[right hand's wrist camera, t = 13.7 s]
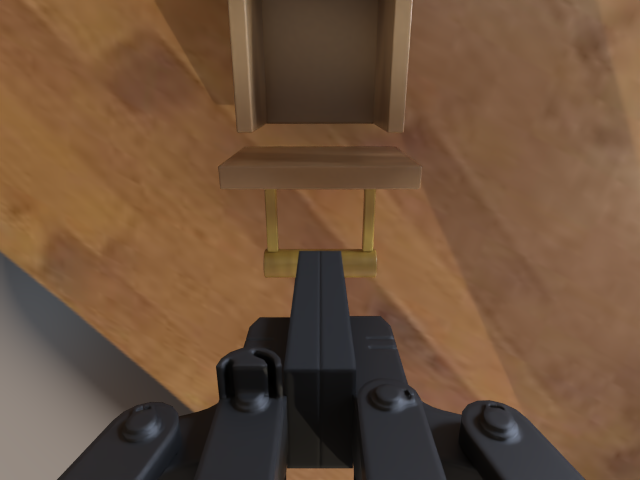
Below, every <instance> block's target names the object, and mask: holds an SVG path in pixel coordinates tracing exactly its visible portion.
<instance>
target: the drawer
mask: <svg viewBox="0 0 640 480" xmlns="http://www.w3.org/2000/svg"><path fill="white" fill-rule="evenodd" d="M412 2H413V0H228V11H229V25H230V40H231V54H232V68H233V83H234V97H235V111H236V126H237V132H238V133H252V132H254V131H255V130H257V129H258V128H260V127H262V126H263V125H265V124H306V123H374V124H375V125H377V126H379V127H380V128H382V129H383V130H385V131H387V132H388V133H403V132H404V119H405V104H406V90H407V75H408V61H409V46H410V31H411V17H412ZM218 169H219V180H220V189H265V207H266V228H267V248H268V249H266V250H265V252H264V275H265V277H266V278H271V277H296V270H297V263H298V255H299V251H341V255H342V263H343V270H344V277H376V273H377V255H376V250H375V249H373V238H374V218H375V197H376V189H420V186H421V175H422V166H421V165H420V164H418V163H417V162H416V161H414V160H413V159H412V158H410V157H409V156H408V155H406V154H405V153H404V152H402V151H401V150H400V149H398V148H397V147H244V148H242V149H241V150H240V151H238V152H237V153H236V154H234V155H233V156H232V157H230V158H229V159H228V160H226V161H225V162H224V163H223V164H221V165H220V166H219V167H218ZM276 189H364V208H363V234H362V249H278V248H279V246H278V220H277V194H276Z"/></svg>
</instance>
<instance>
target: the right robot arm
mask: <svg viewBox="0 0 640 480" xmlns="http://www.w3.org/2000/svg"><path fill="white" fill-rule="evenodd" d="M216 371H217V380H218V389H219V403H217V404H216V405H214V406H212V407H210V408H208V409H205V410H202V411H199V412H195V413H191V414H187V415H183V416H179V417H178V413H177V411H176V410H175V409H174V408H173V406H170V405H168V404H165V403H163V402H149V403H145V404H141V405H137V406H134V407H133V408H130V409H128V410H126V411H124V412H123V413H122V414H120V415H119V416H118V417H117V418H115V419H114V420H113V421H112V422H111V423H110V424H109V425H108V426H107V427H106V428H105V430H104V431H103V432H102V433H101V434H100V435H99V436H98V437H97V438H96V439H95V440H94V441H93V442H92V443H91V444H90V445H89V446H88V447H87V449H86V450H85V451H84V452H83V453H82V454H81V455H80V456H79V457H78V458H77V459H76V460H75V461H74V462H73V464H71V466H70V467H69V468H68V469H67V470H66V471H65V472H64V473H63V474H62V475H61V476H60V477H59V478H58V479H57V480H286V468H353V466H354V480H585V479H584V478H583V477H582V476H581V475H580V473H579V472H578V471H577V470H576V469H575V468H574V467H573V466H572V465H571V464H570V463H569V462H568V461H567V460H566V459H565V458H564V457H563V456H562V455H561V454H560V452H559V451H558V450H557V449H556V448H555V447H554V446H553V445H552V444H551V443H550V442H549V441H548V440H547V439H546V438H545V437H544V436H543V435H542V434H541V432H540V431H539V430H538V429H537V428H536V427H535V426H534V425H533V424H532V423H531V422H530V421H529V420H528V419H527V418H526V417H525V416H523V415H522V414H521V413H520V412H518V411H517V410H516V409H514V408H512V407H509V406H507V405H505V404H503V403H499V402H494V401H490V400H487V401H476V402H473V403H471V404H468V405H467V406H466V408H465V409H464V410H463V411H462V415H460V414H456V413H451V412H447V411H443V410H440V409H437V408H434V407H431V406H429V405H428V404H426V403H424V402H422V401H421V399H420V397H419V396H418V394H417V392H416V391H415V390H414V389H413V388H412V387H410V386H409V385H408V383H407V380H406V376H405V373H404V370H403V366H402V363H401V359H400V356H399V353H398V349H397V346H396V343H395V339H394V336H393V333H392V329H391V326H390V325H389V324H388V323H387V322H386V321H385V320H384V319H383V318H382V317H381V316H349V309H348V301H347V293H346V286H345V278H344V270H343V263H342V255H341V251H299V255H298V263H297V270H296V278H295V286H294V293H293V301H292V309H291V316H290V317H260V318H259V319H258V320H257V321H255V322H254V323H253V324H252V325H251V326H250V328H249V331H248V334H247V338H246V341H245V344H244V348H241V349H238V350H235V351H233V352H230V353H229V354H227V355H226V356H224V357H223V358H221V360H220V361H219V363H218V364H217V366H216Z"/></svg>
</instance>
